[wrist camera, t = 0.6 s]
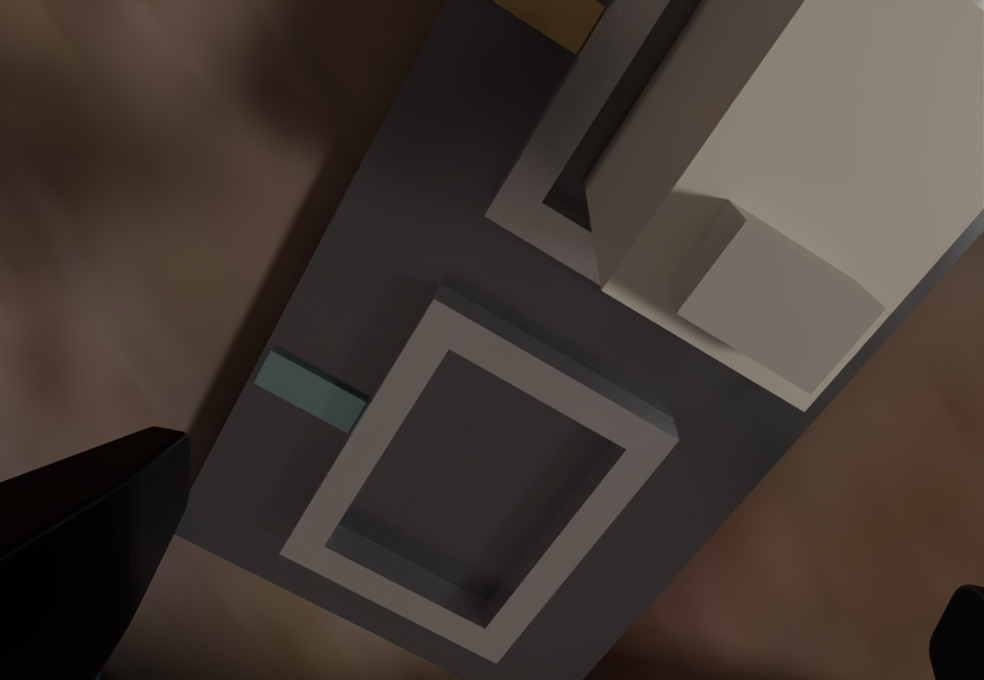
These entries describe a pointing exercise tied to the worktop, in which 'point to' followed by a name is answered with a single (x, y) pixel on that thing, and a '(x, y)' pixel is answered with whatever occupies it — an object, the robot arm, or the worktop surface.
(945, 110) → the plug
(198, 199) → the worktop surface
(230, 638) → the worktop surface
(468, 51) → the patch board
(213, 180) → the worktop surface
